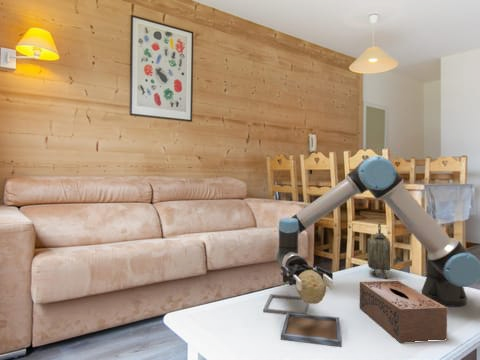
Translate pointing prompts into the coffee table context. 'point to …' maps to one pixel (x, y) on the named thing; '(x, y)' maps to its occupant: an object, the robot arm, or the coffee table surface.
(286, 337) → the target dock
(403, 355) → the coffee table surface
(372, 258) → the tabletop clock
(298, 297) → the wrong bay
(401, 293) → the tissue box cover
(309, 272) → the coral
